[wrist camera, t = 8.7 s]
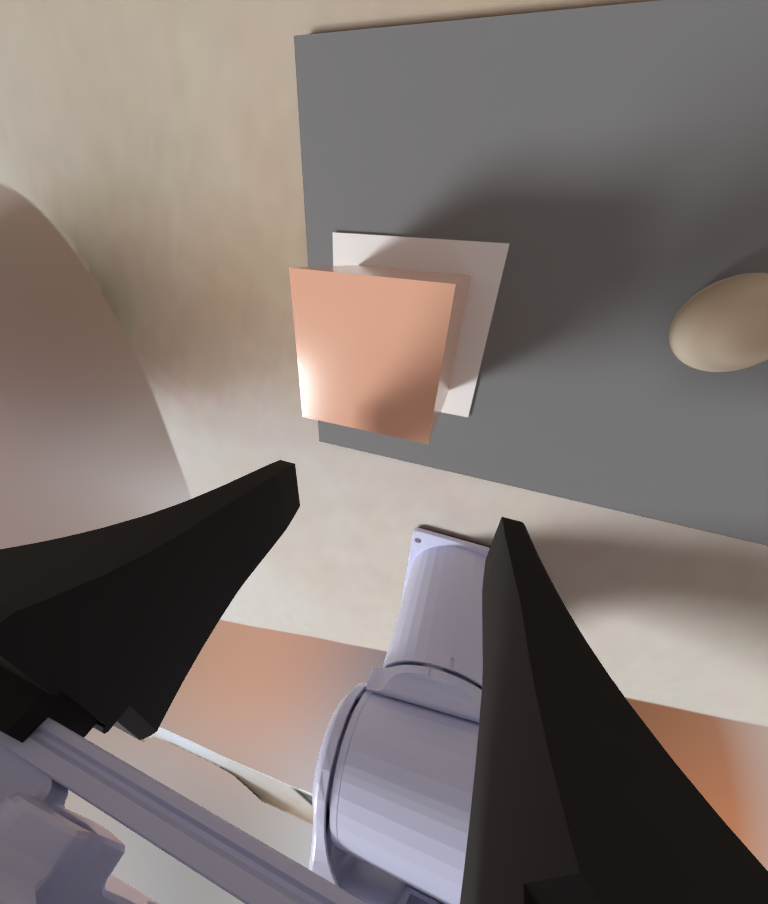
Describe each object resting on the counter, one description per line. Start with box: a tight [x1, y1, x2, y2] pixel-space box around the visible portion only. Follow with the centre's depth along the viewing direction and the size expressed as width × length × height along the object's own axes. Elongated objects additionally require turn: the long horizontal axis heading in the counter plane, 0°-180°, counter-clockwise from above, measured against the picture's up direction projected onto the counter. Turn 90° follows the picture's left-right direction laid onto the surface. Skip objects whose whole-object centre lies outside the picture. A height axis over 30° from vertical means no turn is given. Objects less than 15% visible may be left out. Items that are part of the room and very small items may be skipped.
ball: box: [669, 273, 768, 372], centre depth 11 cm, size 3×3×3 cm
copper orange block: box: [289, 265, 472, 444], centre depth 13 cm, size 5×5×6 cm
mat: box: [294, 0, 768, 546], centre depth 14 cm, size 18×27×1 cm, turn 86°
